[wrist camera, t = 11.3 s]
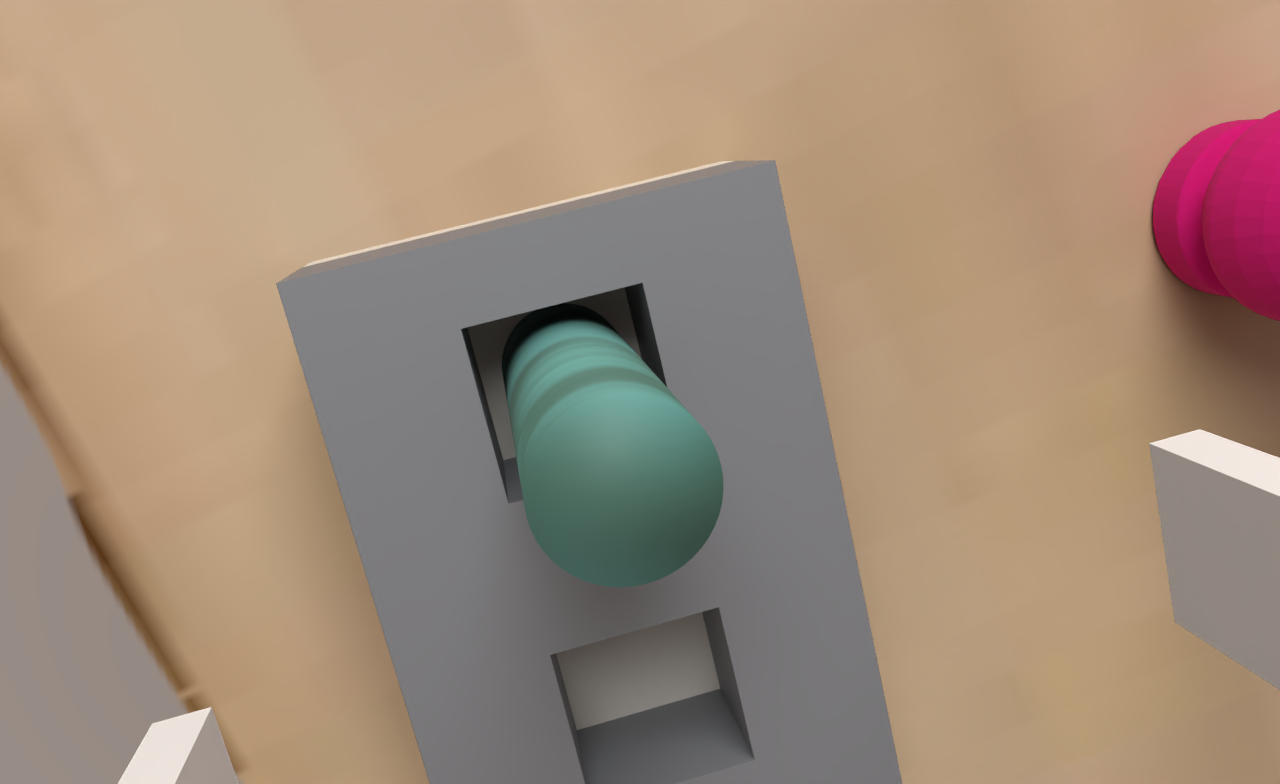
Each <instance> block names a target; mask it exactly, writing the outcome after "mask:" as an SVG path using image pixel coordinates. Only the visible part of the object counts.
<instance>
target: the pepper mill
mask: <svg viewBox="0 0 1280 784" xmlns="http://www.w3.org/2000/svg"><path fill="white" fill-rule="evenodd" d="M1153 229H1154V234H1155V238H1156V243H1157V246H1158V249H1159V251H1160V254H1161V256H1162V258H1163V260H1164V261H1165V262H1166V264H1167V265H1168V267H1169V268H1170V270H1171V271H1172V272H1173V273H1174V274H1175V275H1176V276H1177V277H1178V278H1179V279H1180V280H1182V281H1183V282H1184V283H1186V284H1187V285H1189V286H1191V287H1193V288H1195V289H1197V290H1199V291H1202V292H1205V293H1210V294H1215V295H1221V296H1226V297H1232V298H1235V299H1236V300H1237V301H1238V302H1239V303H1240V304H1242V305H1244V306H1245V307H1247V308H1249V309H1250V310H1252V311H1254V312H1256V313H1258V314H1260V315H1263V316H1266V317H1269V318H1271V319H1274V320H1278V321H1280V110H1278V111H1276V112H1274V113H1271V114H1269V115H1268V116H1266V117H1264V118H1263V119H1254V120H1237V121H1231V122H1226V123H1221V124H1218V125H1215V126H1212V127H1210V128H1208V129H1206V130H1204V131H1202V132H1200V133H1199V134H1197V135H1196V136H1194V137H1193V138H1192V139H1191V140H1190V141H1188V142H1187V143H1186V144H1185V145H1184V146H1183V147H1182V148H1181V149H1180V150H1179V151H1178V152H1177V153H1176V154H1175V155H1174V157H1173V158H1172V159H1171V161H1170V163H1169V165H1168V166H1167V168H1166V170H1165V172H1164V174H1163V175H1162V177H1161V179H1160V181H1159V185H1158V188H1157V192H1156V196H1155V199H1154V203H1153Z"/></svg>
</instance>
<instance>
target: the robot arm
mask: <svg viewBox="0 0 1280 784" xmlns="http://www.w3.org/2000/svg"><path fill="white" fill-rule="evenodd" d="M1149 444H1150V451H1151V458H1152V465H1153V472H1154V479H1155V486H1156V493H1157V500H1158V507H1159V514H1160V521H1161V528H1162V535H1163V542H1164V549H1165V556H1166V563H1167V570H1168V578H1169V585H1170V592H1171V599H1172V606H1173V613H1174V620H1175V623H1177V624H1179V625H1180V626H1182V627H1183V628H1185V629H1186V630H1188V631H1189V632H1191V633H1192V634H1194V635H1196V636H1197V637H1199V638H1200V639H1202V640H1203V641H1205V642H1206V643H1208V644H1210V645H1211V646H1213V647H1214V648H1216V649H1217V650H1219V651H1220V652H1222V653H1223V654H1225V655H1227V656H1228V657H1230V658H1231V659H1233V660H1234V661H1236V662H1237V663H1239V664H1241V665H1242V666H1244V667H1245V668H1247V669H1248V670H1250V671H1251V672H1253V673H1254V674H1256V675H1258V676H1259V677H1261V678H1262V679H1264V680H1265V681H1267V682H1268V683H1270V684H1272V685H1273V686H1275V687H1276V688H1278V689H1279V690H1280V458H1279V457H1276V456H1273V455H1270V454H1267V453H1265V452H1262V451H1259V450H1256V449H1254V448H1251V447H1248V446H1245V445H1242V444H1240V443H1237V442H1234V441H1231V440H1228V439H1226V438H1223V437H1220V436H1217V435H1215V434H1212V433H1209V432H1206V431H1203V430H1201V429H1199V430H1195V431H1192V432H1188V433H1184V434H1181V435H1177V436H1174V437H1170V438H1167V439H1163V440H1160V441H1156V442H1152V443H1149ZM118 784H239V783H238V781H237V778H236V775H235V772H234V769H233V766H232V763H231V761H230V758H229V755H228V752H227V749H226V746H225V744H224V741H223V738H222V735H221V732H220V729H219V726H218V724H217V721H216V718H215V715H214V712H213V709H212V707H210V708H206V709H203V710H199V711H196V712H192V713H188V714H185V715H181V716H178V717H175V718H171V719H167V720H164V721H160V722H157V723H153V724H152V725H151V727H150V729H149V731H148V732H147V734H146V736H145V737H144V739H143V741H142V742H141V744H140V746H139V748H138V750H137V751H136V753H135V755H134V757H133V758H132V760H131V762H130V763H129V765H128V767H127V769H126V770H125V772H124V774H123V776H122V777H121V779H120V781H119V783H118Z"/></svg>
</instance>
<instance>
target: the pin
mask: <svg viewBox="0 0 1280 784" xmlns="http://www.w3.org/2000/svg"><path fill="white" fill-rule="evenodd" d="M502 374H503V380H504V386H505V392H506V398H507V404H508V410H509V416H510V422H511V428H512V434H513V441H514V447H515V453H516V459H517V465H518V471H519V477H520V483H521V489H522V495H523V501H524V507H525V512H526V517H527V520H528V523H529V526H530V529H531V531H532V533H533V535H534V537H535V539H536V541H537V543H538V544H539V546H540V547H541V548H542V550H543V551H544V553H545V554H546V555H547V556H548V557H549V558H550V559H551V560H552V561H553V562H554V563H555V564H557V565H558V566H559V567H560V568H561V569H563V570H564V571H566V572H568V573H569V574H571V575H572V576H574V577H577V578H579V579H581V580H583V581H586V582H589V583H592V584H596V585H601V586H607V587H632V586H639V585H643V584H648V583H651V582H654V581H656V580H659V579H662V578H664V577H666V576H668V575H670V574H672V573H673V572H675V571H676V570H678V569H679V568H681V567H682V566H684V565H685V564H686V563H687V562H688V561H689V560H691V559H692V558H693V557H694V556H695V555H696V554H697V552H698V551H699V550H700V549H701V548H702V547H703V545H704V544H705V542H706V541H707V540H708V538H709V536H710V535H711V533H712V531H713V529H714V527H715V525H716V522H717V519H718V517H719V514H720V510H721V505H722V500H723V490H724V488H723V473H722V467H721V463H720V459H719V456H718V453H717V451H716V449H715V446H714V444H713V442H712V440H711V439H710V437H709V436H708V434H707V433H706V431H705V430H704V429H703V428H702V426H701V425H700V424H699V423H698V422H697V421H696V419H695V418H694V417H693V416H692V415H691V414H690V413H689V412H688V410H687V409H686V408H685V407H684V406H683V405H682V404H681V403H680V401H679V400H678V399H677V398H676V397H675V396H674V395H673V394H672V393H671V391H670V390H669V389H668V388H667V387H666V386H665V385H664V384H663V382H662V381H661V380H660V379H659V378H658V377H657V376H656V375H655V374H654V372H653V371H652V370H651V369H650V368H649V367H648V366H647V365H646V363H645V362H644V361H643V360H642V359H641V358H640V357H639V356H638V355H637V353H636V352H635V351H634V350H633V349H632V348H631V347H630V346H629V344H628V343H627V342H626V341H625V340H624V339H623V338H622V337H621V335H620V334H619V333H618V332H617V331H616V330H615V329H614V328H613V327H612V325H611V324H610V323H609V322H608V321H607V320H606V319H605V318H604V317H602V316H601V315H600V314H598V313H597V312H595V311H593V310H591V309H589V308H587V307H584V306H581V305H577V304H571V303H561V304H557V305H553V306H549V307H545V308H541V309H537V310H535V311H533V312H531V313H530V314H528V315H527V316H525V317H524V318H523V319H522V320H521V321H520V322H519V323H518V324H517V325H516V326H515V327H514V329H513V330H512V332H511V333H510V335H509V337H508V339H507V341H506V344H505V347H504V350H503V355H502Z"/></svg>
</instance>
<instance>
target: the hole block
mask: <svg viewBox="0 0 1280 784" xmlns="http://www.w3.org/2000/svg"><path fill="white" fill-rule="evenodd" d="M276 285H277V288H278V291H279V294H280V298H281V301H282V304H283V307H284V311H285V314H286V317H287V320H288V324H289V327H290V330H291V333H292V337H293V340H294V343H295V346H296V350H297V353H298V356H299V359H300V363H301V366H302V369H303V372H304V376H305V379H306V382H307V385H308V389H309V392H310V395H311V398H312V402H313V405H314V408H315V411H316V415H317V418H318V421H319V424H320V428H321V431H322V434H323V437H324V441H325V444H326V447H327V450H328V454H329V457H330V460H331V463H332V467H333V470H334V473H335V476H336V480H337V483H338V486H339V489H340V493H341V496H342V499H343V502H344V506H345V509H346V512H347V516H348V519H349V522H350V525H351V529H352V532H353V535H354V538H355V542H356V545H357V548H358V551H359V555H360V558H361V561H362V564H363V568H364V571H365V574H366V577H367V581H368V584H369V587H370V590H371V594H372V597H373V600H374V603H375V607H376V610H377V613H378V616H379V620H380V623H381V626H382V629H383V633H384V636H385V639H386V642H387V646H388V649H389V652H390V655H391V659H392V662H393V665H394V668H395V672H396V675H397V678H398V681H399V685H400V688H401V691H402V694H403V698H404V701H405V704H406V707H407V711H408V714H409V717H410V720H411V724H412V727H413V730H414V733H415V737H416V740H417V743H418V746H419V750H420V753H421V756H422V759H423V763H424V766H425V769H426V772H427V776H428V779H429V782H430V784H902V780H901V776H900V771H899V766H898V761H897V756H896V751H895V746H894V741H893V736H892V731H891V726H890V722H889V717H888V712H887V707H886V702H885V697H884V692H883V687H882V682H881V677H880V673H879V668H878V663H877V658H876V653H875V648H874V643H873V638H872V633H871V628H870V623H869V619H868V614H867V609H866V604H865V599H864V594H863V589H862V584H861V579H860V574H859V570H858V565H857V560H856V555H855V550H854V545H853V540H852V535H851V530H850V525H849V520H848V516H847V511H846V506H845V501H844V496H843V491H842V486H841V481H840V476H839V471H838V467H837V462H836V457H835V452H834V447H833V442H832V437H831V432H830V427H829V422H828V417H827V413H826V408H825V403H824V398H823V393H822V388H821V383H820V378H819V373H818V368H817V364H816V359H815V354H814V349H813V344H812V339H811V334H810V329H809V324H808V319H807V314H806V310H805V305H804V300H803V295H802V290H801V285H800V280H799V275H798V270H797V265H796V261H795V256H794V251H793V246H792V241H791V236H790V231H789V226H788V221H787V216H786V211H785V207H784V202H783V197H782V192H781V187H780V182H779V177H778V172H777V167H776V162H775V160H773V161H720V162H716V163H712V164H708V165H704V166H700V167H696V168H692V169H688V170H684V171H680V172H676V173H672V174H667V175H663V176H659V177H655V178H651V179H647V180H643V181H639V182H635V183H631V184H627V185H623V186H619V187H615V188H610V189H606V190H602V191H598V192H594V193H590V194H586V195H582V196H578V197H574V198H570V199H566V200H562V201H558V202H553V203H549V204H545V205H541V206H537V207H533V208H529V209H525V210H521V211H517V212H513V213H509V214H505V215H501V216H496V217H492V218H488V219H484V220H480V221H476V222H472V223H468V224H464V225H460V226H456V227H452V228H448V229H444V230H439V231H435V232H431V233H427V234H423V235H419V236H415V237H411V238H407V239H403V240H399V241H395V242H391V243H386V244H382V245H378V246H374V247H370V248H366V249H362V250H358V251H354V252H350V253H346V254H342V255H338V256H334V257H329V258H325V259H321V260H317V261H313V262H310V263H309V264H307V265H305V266H304V267H302V268H300V269H299V270H297V271H296V272H294V273H292V274H291V275H289V276H288V277H286V278H284V279H283V280H281V281H279V282H278V283H276ZM561 303H571V304H577V305H581V306H584V307H587V308H589V309H591V310H593V311H595V312H597V313H598V314H600V315H601V316H602V317H604V318H605V319H606V320H607V321H608V322H609V323H610V324H611V325H612V327H613V328H614V329H615V330H616V331H617V332H618V333H619V334H620V335H621V337H622V338H623V339H624V340H625V341H626V342H627V343H628V344H629V346H630V347H631V348H632V349H633V350H634V351H635V352H636V353H637V355H638V356H639V357H640V358H641V359H642V360H643V361H644V362H645V363H646V365H647V366H648V367H649V368H650V369H651V370H652V371H653V372H654V374H655V375H656V376H657V377H658V378H659V379H660V380H661V381H662V382H663V384H664V385H665V386H666V387H667V388H668V389H669V390H670V391H671V393H672V394H673V395H674V396H675V397H676V398H677V399H678V400H679V401H680V403H681V404H682V405H683V406H684V407H685V408H686V409H687V410H688V412H689V413H690V414H691V415H692V416H693V417H694V418H695V419H696V421H697V422H698V423H699V424H700V425H701V426H702V428H703V429H704V430H705V431H706V433H707V434H708V436H709V437H710V439H711V440H712V442H713V444H714V446H715V449H716V451H717V453H718V456H719V459H720V463H721V467H722V473H723V488H724V490H723V500H722V505H721V510H720V514H719V517H718V519H717V522H716V525H715V527H714V529H713V531H712V533H711V535H710V536H709V538H708V540H707V541H706V542H705V544H704V545H703V547H702V548H701V549H700V550H699V551H698V552H697V554H696V555H695V556H694V557H693V558H692V559H691V560H689V561H688V562H687V563H686V564H685V565H684V566H682V567H681V568H679V569H678V570H676V571H675V572H673V573H672V574H670V575H668V576H666V577H664V578H662V579H659V580H656V581H654V582H651V583H648V584H643V585H639V586H632V587H607V586H601V585H596V584H592V583H589V582H586V581H583V580H581V579H579V578H577V577H574V576H572V575H571V574H569V573H568V572H566V571H564V570H563V569H561V568H560V567H559V566H558V565H557V564H555V563H554V562H553V561H552V560H551V559H550V558H549V557H548V556H547V555H546V554H545V553H544V551H543V550H542V548H541V547H540V546H539V544H538V543H537V541H536V539H535V537H534V535H533V533H532V531H531V529H530V526H529V523H528V520H527V517H526V512H525V507H524V501H523V495H522V489H521V483H520V477H519V471H518V465H517V459H516V453H515V447H514V441H513V434H512V428H511V422H510V416H509V410H508V404H507V398H506V392H505V386H504V380H503V374H502V355H503V350H504V347H505V344H506V341H507V339H508V337H509V335H510V333H511V332H512V330H513V329H514V327H515V326H516V325H517V324H518V323H519V322H520V321H521V320H522V319H523V318H524V317H525V316H527V315H528V314H530V313H531V312H533V311H535V310H537V309H541V308H545V307H549V306H553V305H557V304H561Z"/></svg>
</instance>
